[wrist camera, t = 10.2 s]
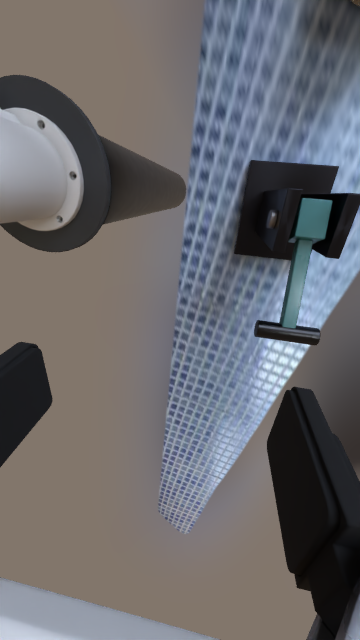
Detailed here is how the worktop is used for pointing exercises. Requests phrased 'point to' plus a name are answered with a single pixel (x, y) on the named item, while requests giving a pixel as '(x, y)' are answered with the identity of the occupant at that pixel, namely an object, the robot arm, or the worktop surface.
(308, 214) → the lever
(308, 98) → the worktop surface
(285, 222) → the bracket
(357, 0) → the ceramic mug
